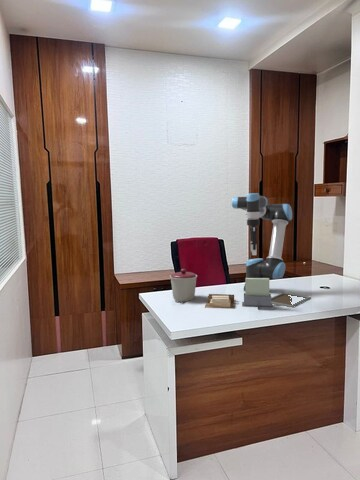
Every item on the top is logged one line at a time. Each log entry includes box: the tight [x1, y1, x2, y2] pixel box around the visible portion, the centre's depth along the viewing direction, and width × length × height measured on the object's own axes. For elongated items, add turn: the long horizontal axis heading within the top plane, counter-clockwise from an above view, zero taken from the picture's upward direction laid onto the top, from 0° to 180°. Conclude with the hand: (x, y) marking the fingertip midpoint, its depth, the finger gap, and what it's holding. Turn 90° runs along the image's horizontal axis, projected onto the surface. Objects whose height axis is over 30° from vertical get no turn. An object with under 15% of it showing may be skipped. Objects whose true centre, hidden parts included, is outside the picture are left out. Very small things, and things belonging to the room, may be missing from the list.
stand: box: [241, 292, 274, 311], centre depth 214 cm, size 10×18×8 cm, turn 80°
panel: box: [244, 277, 270, 296], centre depth 213 cm, size 2×14×16 cm, turn 80°
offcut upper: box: [212, 296, 229, 303], centre depth 214 cm, size 7×10×2 cm
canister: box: [169, 268, 198, 303], centre depth 231 cm, size 18×18×21 cm
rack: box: [204, 293, 237, 310], centre depth 218 cm, size 20×18×6 cm
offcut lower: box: [210, 299, 231, 307], centre depth 214 cm, size 8×12×2 cm, turn 80°
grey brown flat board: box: [271, 292, 311, 308], centre depth 227 cm, size 19×2×30 cm
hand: (253, 253), depth 218 cm, fingers open, 13 cm apart
